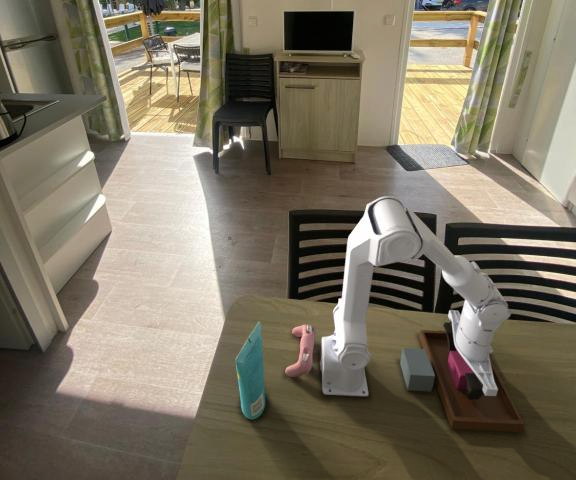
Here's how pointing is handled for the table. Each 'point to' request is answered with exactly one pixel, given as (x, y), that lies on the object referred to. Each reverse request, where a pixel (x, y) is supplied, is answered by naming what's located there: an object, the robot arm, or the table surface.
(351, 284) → the robot arm
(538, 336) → the table surface
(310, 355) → the video game controller
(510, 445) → the table surface
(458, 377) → the plum block
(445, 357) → the tray
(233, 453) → the table surface
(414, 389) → the grey block
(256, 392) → the tube
